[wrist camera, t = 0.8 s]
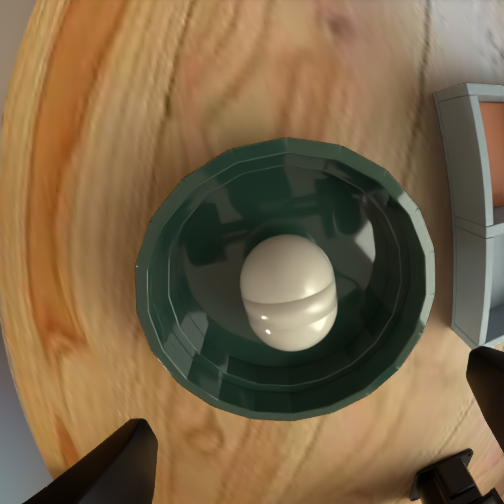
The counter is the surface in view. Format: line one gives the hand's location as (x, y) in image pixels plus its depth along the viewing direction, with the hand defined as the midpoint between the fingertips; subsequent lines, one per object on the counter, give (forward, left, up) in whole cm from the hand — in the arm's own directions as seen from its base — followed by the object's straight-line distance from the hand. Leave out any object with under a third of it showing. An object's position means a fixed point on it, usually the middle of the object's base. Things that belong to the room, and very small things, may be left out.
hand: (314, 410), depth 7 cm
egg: (0, 0, -10) cm, 10 cm away
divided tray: (+1, -17, -10) cm, 20 cm away
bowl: (0, 0, -10) cm, 10 cm away
